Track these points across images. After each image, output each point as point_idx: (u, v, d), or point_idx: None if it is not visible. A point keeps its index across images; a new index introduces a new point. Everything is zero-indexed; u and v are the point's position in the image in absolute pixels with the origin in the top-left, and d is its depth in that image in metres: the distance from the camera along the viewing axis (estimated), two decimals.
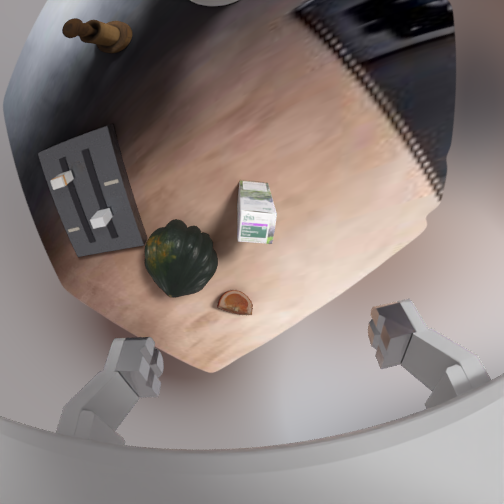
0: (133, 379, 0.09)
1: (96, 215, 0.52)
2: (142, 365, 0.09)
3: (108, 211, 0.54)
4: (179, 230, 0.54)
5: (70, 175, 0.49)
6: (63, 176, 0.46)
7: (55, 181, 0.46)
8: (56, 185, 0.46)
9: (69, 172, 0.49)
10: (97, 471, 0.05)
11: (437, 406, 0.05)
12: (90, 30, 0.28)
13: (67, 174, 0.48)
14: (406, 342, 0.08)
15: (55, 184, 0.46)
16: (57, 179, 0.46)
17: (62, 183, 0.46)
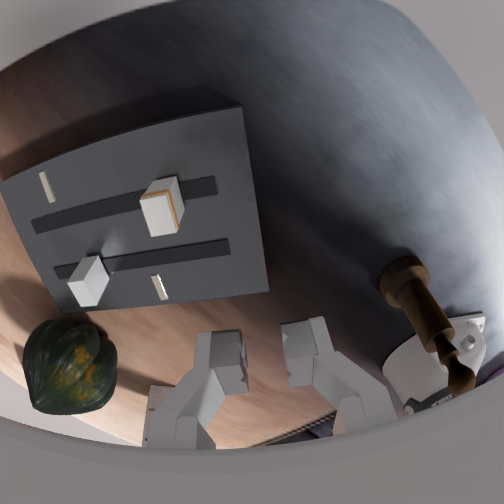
0: (228, 375, 0.09)
1: (92, 277, 0.25)
2: (240, 359, 0.09)
3: None
4: (112, 381, 0.33)
5: None
6: None
7: (163, 212, 0.20)
8: (152, 213, 0.20)
9: None
10: (97, 471, 0.05)
11: (437, 406, 0.05)
12: None
13: None
14: (309, 364, 0.09)
15: (155, 210, 0.20)
16: (169, 219, 0.20)
17: (158, 232, 0.21)
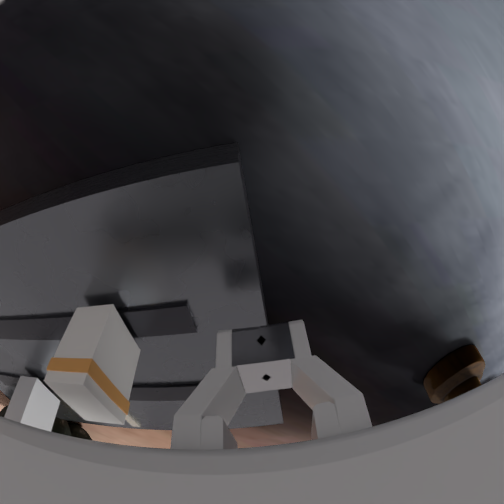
0: (250, 373, 0.09)
1: (33, 413, 0.13)
2: (263, 356, 0.09)
3: None
4: None
5: None
6: None
7: (91, 402, 0.08)
8: (73, 399, 0.08)
9: None
10: (97, 471, 0.05)
11: (437, 406, 0.05)
12: None
13: None
14: (287, 368, 0.09)
15: (76, 398, 0.08)
16: (105, 411, 0.09)
17: (94, 419, 0.09)
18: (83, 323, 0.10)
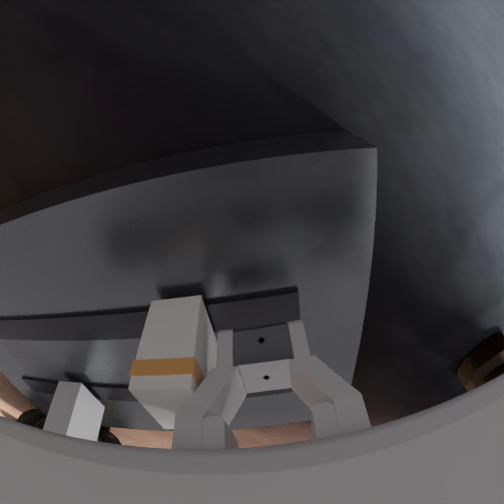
0: (251, 373, 0.09)
1: (78, 423, 0.13)
2: (264, 356, 0.09)
3: None
4: None
5: None
6: None
7: None
8: (163, 407, 0.08)
9: None
10: (97, 471, 0.05)
11: (437, 406, 0.05)
12: None
13: None
14: (286, 367, 0.09)
15: (168, 405, 0.08)
16: None
17: None
18: (167, 318, 0.10)
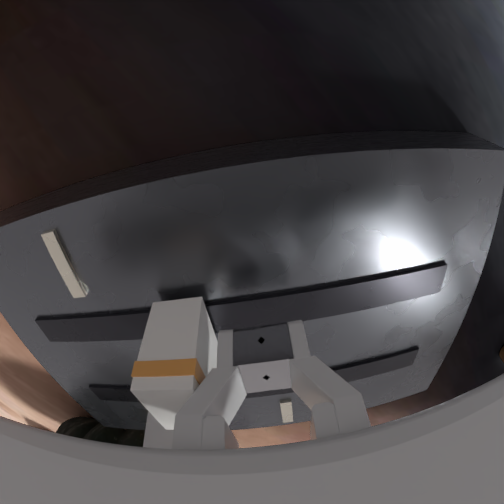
0: (251, 373, 0.09)
1: None
2: (264, 356, 0.09)
3: None
4: None
5: None
6: None
7: None
8: (164, 408, 0.08)
9: None
10: (97, 471, 0.05)
11: (437, 406, 0.05)
12: None
13: None
14: (286, 368, 0.09)
15: (170, 405, 0.08)
16: None
17: None
18: (168, 319, 0.10)
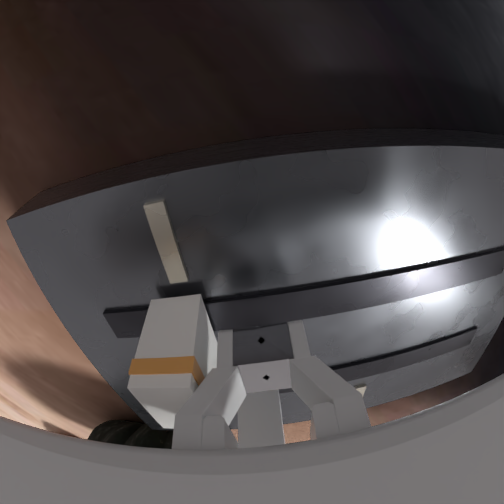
0: (251, 373, 0.09)
1: (282, 426, 0.12)
2: (264, 356, 0.09)
3: None
4: None
5: None
6: None
7: None
8: (162, 406, 0.08)
9: None
10: (97, 471, 0.05)
11: (437, 406, 0.05)
12: None
13: None
14: (286, 368, 0.09)
15: (167, 404, 0.08)
16: None
17: None
18: (166, 317, 0.10)
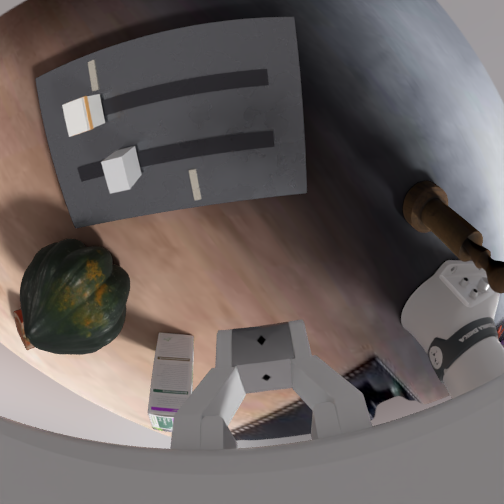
0: (250, 373, 0.09)
1: (129, 161, 0.24)
2: (263, 356, 0.09)
3: None
4: (122, 311, 0.32)
5: None
6: (89, 129, 0.21)
7: (79, 113, 0.19)
8: (71, 114, 0.19)
9: (99, 124, 0.23)
10: (97, 471, 0.05)
11: (437, 406, 0.05)
12: (475, 264, 0.24)
13: None
14: (287, 367, 0.09)
15: (73, 112, 0.19)
16: (83, 118, 0.20)
17: (74, 132, 0.20)
18: None
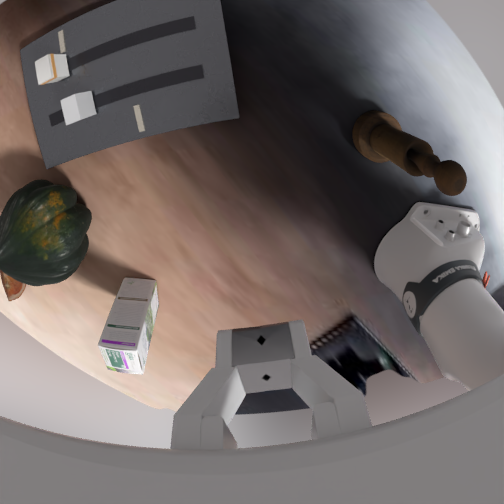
0: (250, 373, 0.09)
1: (82, 99, 0.24)
2: (263, 356, 0.09)
3: None
4: (80, 241, 0.33)
5: (60, 79, 0.24)
6: (53, 78, 0.22)
7: (46, 65, 0.20)
8: (40, 68, 0.20)
9: (64, 76, 0.24)
10: (97, 471, 0.05)
11: (437, 406, 0.05)
12: None
13: (60, 77, 0.23)
14: (287, 368, 0.09)
15: (41, 65, 0.20)
16: (48, 69, 0.21)
17: (42, 80, 0.21)
18: None
